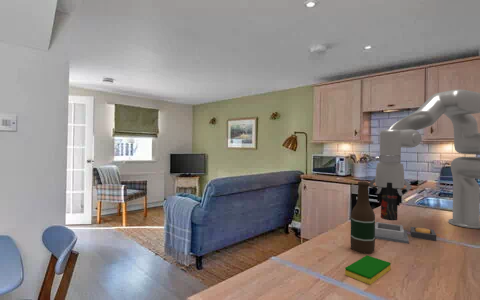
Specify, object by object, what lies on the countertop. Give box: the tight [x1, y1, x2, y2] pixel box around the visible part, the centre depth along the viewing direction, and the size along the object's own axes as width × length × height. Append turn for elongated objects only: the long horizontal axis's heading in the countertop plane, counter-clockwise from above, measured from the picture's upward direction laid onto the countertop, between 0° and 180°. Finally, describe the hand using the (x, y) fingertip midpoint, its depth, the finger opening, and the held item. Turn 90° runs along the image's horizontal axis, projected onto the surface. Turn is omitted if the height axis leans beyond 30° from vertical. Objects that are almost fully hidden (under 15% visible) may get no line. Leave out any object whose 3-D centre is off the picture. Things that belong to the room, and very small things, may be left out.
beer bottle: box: [350, 180, 376, 255], centre depth 93 cm, size 8×8×24 cm
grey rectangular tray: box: [375, 221, 410, 245], centre depth 108 cm, size 14×13×4 cm
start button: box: [415, 226, 430, 233], centre depth 108 cm, size 5×5×2 cm
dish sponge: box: [344, 254, 392, 285], centre depth 77 cm, size 7×14×2 cm, turn 130°
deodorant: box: [380, 182, 398, 222], centre depth 108 cm, size 6×6×15 cm
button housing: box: [409, 226, 437, 242], centre depth 108 cm, size 8×8×2 cm
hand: (389, 203), depth 108 cm, fingers closed on deodorant, 5 cm apart
